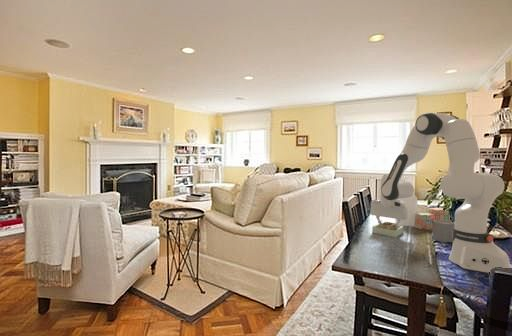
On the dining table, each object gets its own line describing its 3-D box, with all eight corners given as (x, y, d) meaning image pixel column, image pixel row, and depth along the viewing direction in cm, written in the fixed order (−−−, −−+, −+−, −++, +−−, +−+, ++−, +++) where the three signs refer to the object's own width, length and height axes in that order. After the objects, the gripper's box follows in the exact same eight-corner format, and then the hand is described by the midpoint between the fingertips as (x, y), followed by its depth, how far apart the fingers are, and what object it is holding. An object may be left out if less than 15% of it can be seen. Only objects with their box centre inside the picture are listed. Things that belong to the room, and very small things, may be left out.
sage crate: (403, 233, 166) (403, 226, 166) (395, 237, 157) (395, 230, 157) (380, 229, 175) (380, 222, 175) (372, 233, 166) (372, 226, 166)
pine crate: (395, 231, 167) (395, 223, 167) (390, 234, 161) (390, 226, 160) (385, 229, 171) (385, 221, 171) (379, 232, 165) (379, 224, 164)
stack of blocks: (421, 230, 174) (422, 210, 173) (414, 227, 180) (415, 208, 179) (452, 228, 176) (453, 209, 176) (444, 226, 182) (445, 207, 182)
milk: (417, 226, 181) (419, 186, 179) (398, 225, 184) (399, 185, 183) (413, 222, 192) (414, 184, 191) (395, 221, 196) (396, 183, 194)
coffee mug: (433, 241, 152) (434, 222, 151) (431, 236, 160) (432, 218, 160) (464, 244, 146) (465, 225, 145) (460, 239, 155) (460, 221, 154)
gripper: (368, 200, 170) (368, 222, 171) (405, 204, 156) (404, 229, 156) (372, 198, 174) (372, 220, 175) (408, 202, 160) (408, 226, 161)
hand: (387, 224), depth 166 cm, fingers open, 8 cm apart
